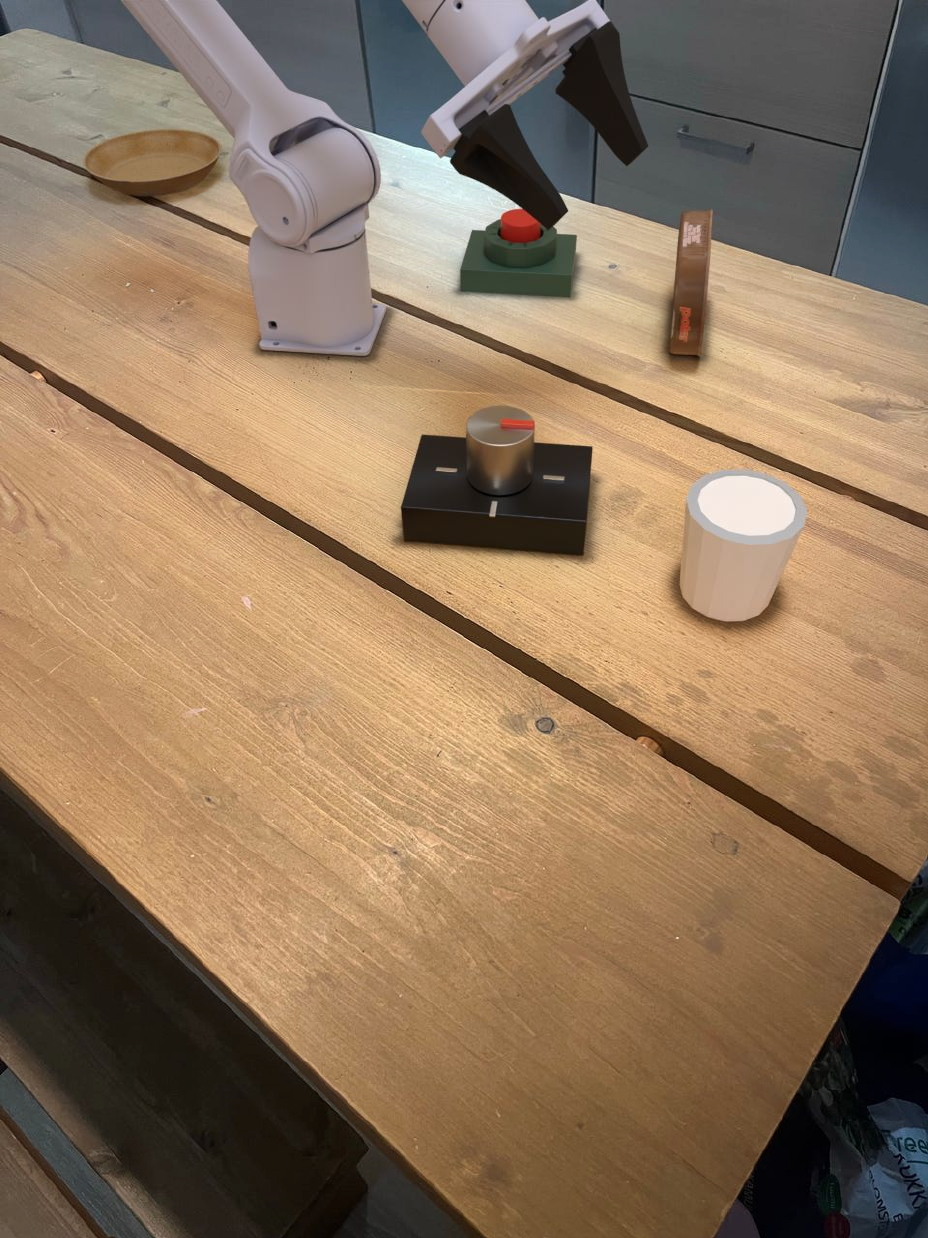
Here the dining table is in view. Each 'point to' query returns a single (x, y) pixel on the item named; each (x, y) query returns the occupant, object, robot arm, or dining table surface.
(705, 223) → the brown rectangular box
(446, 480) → the panel
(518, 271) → the button box
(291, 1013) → the dining table surface
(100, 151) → the plant saucer
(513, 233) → the button
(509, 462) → the knob
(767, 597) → the white cylinder
